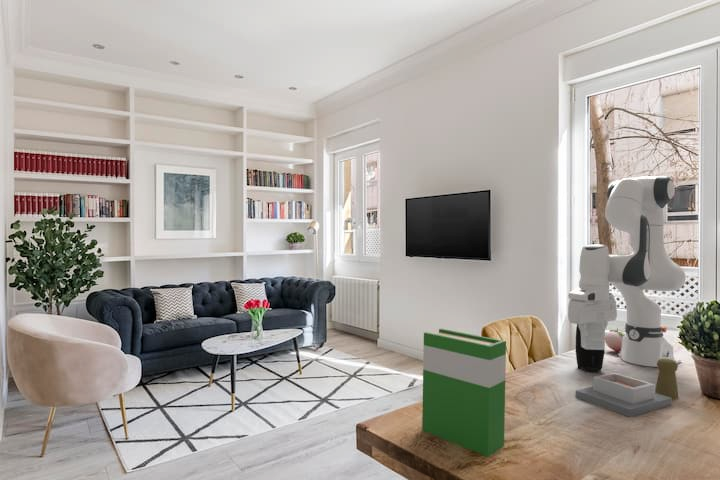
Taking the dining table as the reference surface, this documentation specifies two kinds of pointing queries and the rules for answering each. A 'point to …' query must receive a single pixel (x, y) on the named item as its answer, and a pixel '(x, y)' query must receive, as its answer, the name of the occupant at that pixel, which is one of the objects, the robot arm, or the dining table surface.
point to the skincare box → (595, 334)
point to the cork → (667, 378)
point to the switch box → (623, 394)
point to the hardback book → (464, 389)
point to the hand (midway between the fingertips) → (592, 335)
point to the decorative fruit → (614, 340)
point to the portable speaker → (588, 356)
